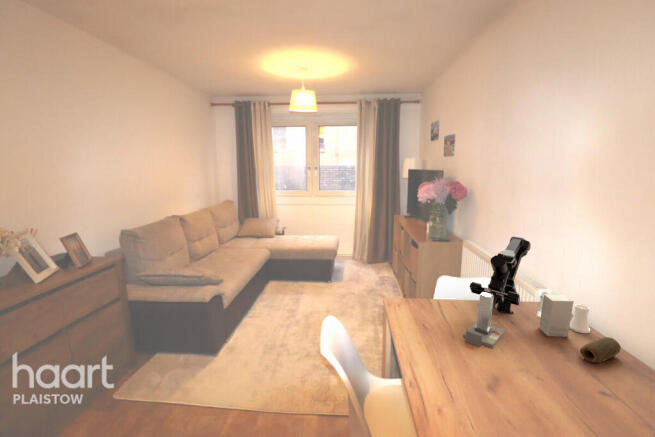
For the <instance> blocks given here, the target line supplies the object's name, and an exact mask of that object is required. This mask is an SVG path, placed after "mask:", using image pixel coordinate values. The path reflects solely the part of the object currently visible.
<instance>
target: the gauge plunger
mask: <svg viewBox="0 0 655 437" xmlns="http://www.w3.org/2000/svg"><path fill="white" fill-rule="evenodd" d="M493 299H494V295H493V294H489V293H486V292H482V293H481V294H479V300H478V301H479V302H478V310H477V319H476V322H477V325H476V326H475V329H474V330H476V331H478V332H481V333H484V334H487V335H488V334H489V332H490V331H491V330H492V327H490V325H492V324H491V322H492V313H493V308H494V307H493ZM492 333H494V334H497V335H500V333H498V332H495V331H492Z"/></svg>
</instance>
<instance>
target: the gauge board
mask: <svg viewBox="0 0 655 437" xmlns="http://www.w3.org/2000/svg"><path fill="white" fill-rule="evenodd" d="M476 325H477V321H475V323H473V324H472V325H471V326H470V327H469V328H468V329H466V330H465V332H464V333H463V334H462V335H463V336H462V338H464V342H465V343H469V344H471V345H474V346H477V347H479V348H481V347H482V345H483V346H486V347H489V348H491V349H494V348H495V346H496V345H497V344H498V343H499V341H500V340H501V339H502V337H503V336H504V335H505V334H506V329H503V328H499V327H496V326H493V325H492V324H490V327H492V330H491V331H490V332H489V334H488V335H487V334H484V333H481V332H478V331H476V330H474V329H475V326H476ZM492 331H495V332H498V333H500V335H497V334H494V333H492Z"/></svg>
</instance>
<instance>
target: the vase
mask: <svg viewBox="0 0 655 437" xmlns="http://www.w3.org/2000/svg"><path fill="white" fill-rule="evenodd" d="M590 309H591V308H590V307H589V306H587V305H584V304H580V303H578V304H574V313H573V315H572V317H571V320H570V327H569V330H571V331H573V332H577V333H579V334H580V333H581V334H590V332H591V328H590V326H589V322H588V321H589V320H588V319H589V318H588V317H589V316H588V315H589V312H590Z"/></svg>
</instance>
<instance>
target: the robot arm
mask: <svg viewBox="0 0 655 437" xmlns="http://www.w3.org/2000/svg"><path fill="white" fill-rule="evenodd" d="M531 245H532V244H531V242H530V241H529V240H526V239H525V238H523V237H520V236H516V235H515V236H511V237H510V240H509V243H508V245H507V246H506V247H505V249H504V250H500V252H499V253H497V254H496V255H494V256H492V257H491V258H490V264H491V268H492V271H493V272H492V275H491V277H490V281H489V283H488V284H487V287H482V284H481V283H479V282H475V281H472V282H470V285H469V288H470V291H471V293H472V294H476V295H479V296H480V294H481V293H483V292H486V293H489V294H493V295H494V299H493V308H495V309H496V310H497V311H498V313H509V314H514V310H512V305H514V306H520V303H521V297H520V294H519V293H518V292H517V289H516V283H515V279H516V276H517V273H518V270H519V266H520V263H521V261H522V258H524V257H526V256H527V255H528V252H529V251H530V250H531Z"/></svg>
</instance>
